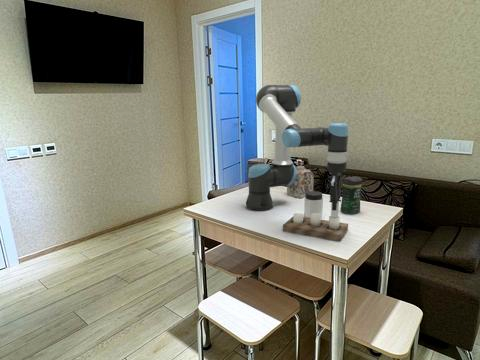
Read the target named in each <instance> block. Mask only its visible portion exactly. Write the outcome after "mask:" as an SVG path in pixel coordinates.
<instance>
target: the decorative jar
mask: <svg viewBox="0 0 480 360" xmlns="http://www.w3.org/2000/svg"><path fill="white" fill-rule="evenodd" d="M296 170H297V177H296V180H295V182H294V183H293V184H291V185H287V186H286V195H288V196H291V197H292V198H293V197H294V198H297V199H302V198H304V199H305V196H306V192H309V191H314V177H315V176H314V175H315V174H314V173H313V172H312V170H311V169H307V168H305V166H304V165H297V166H296Z"/></svg>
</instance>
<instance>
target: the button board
mask: <svg viewBox="0 0 480 360" xmlns="http://www.w3.org/2000/svg"><path fill="white" fill-rule="evenodd" d="M310 221H311V218H308V217H305V216H303V224H297V223H293V216H292V217H290V218H289V219H288V220H287V221H286V222H285V223H283V224H282V232H286V233H291V234H296V235H301V236H306V237H312V238H318V239H323V240H328V241H333V242H334V241H335V242H337V243H338V242H339V243H341V242H342V240H343V238H344V237H345V236H346V234H347V232H348V230H349V223H348V222H347V223H345V222H340V223H339V230H332V229H329V220H326V219H321V226H320V227H314V226H311V225H310Z"/></svg>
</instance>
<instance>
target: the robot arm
mask: <svg viewBox="0 0 480 360" xmlns="http://www.w3.org/2000/svg"><path fill="white" fill-rule="evenodd" d="M301 102H302V97H301V91H300V90H299V88H298V87H297V86H296V85H292V84H268V85H264V86H263V87H261V88H260V89H259V90H258V92H257V93H256V96H255V104H256V106H257V108H258V109H259V111H261V113H264V114H265V115H266V116H267V117H268V118H269V119H270V121H271V122H272V123H273V124H274V125H275V134H274V135H275V136H274V137H275V139H274V159H273V160H272V161H271V165H270V164H269V163H257V164H254V165H251V166H250V167H249V168H248V174H247V177H248V195H247V198H246V201H245V208H246V209H248V210H249V211H253V212H254V211H256V212H257V211H258V212H263V211H265V212H266V211H269V210H272V209H273V208H274V202H273V201H274V200H273V198H272V195H271V188H276V187H287V185H291V184H293V183H294V182H295V180H296V177H297V170H296V169H297V166H296V165H294V162H293V161H292V160H291V153H292V152H291V151H292V148H293V149H294V148H301V147H313V146H314V147H315V146H327V159H326V161H327V162H326V163H327V164H326V170H327V172H330V173H331V176H330V178H329V179H330V180H329V182H328V183H329V201H328V202H329V203H331V204H330V208H331V209H330V216H331V217H336V218H338V216H339V210H340V203H341V202H342V199H341V196H342V193H341V192H342V182H343V179H344V177H343V175H342V174H343V173H345V172H346V171H347V165H348V164H347V160H348V157H349V153H348V145H349V143H348V141H349V126H348V124H347V123H346V122H345V123H343V122H342V123H337V122H336V123H330V124H329V125H328V127H323V126H317V127H316V126H315V127H307V128H306V127H305V128H301V127H300V125H299V124H298V123H297V122H296V121H295V120H294V119H293V115H294V114H295V113H296V112H297V111H296V110H297V108H299V107H300V106H301V105H300V104H301Z"/></svg>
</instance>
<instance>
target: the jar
mask: <svg viewBox="0 0 480 360" xmlns="http://www.w3.org/2000/svg"><path fill="white" fill-rule="evenodd" d="M323 205H324V198H323V193H322V192H321V191H318V190H317V191H316V190H313V191H309V192H306V196H305V197H304V205H303V206H304V211H303V212H304V214H303V217H308V218H311V213H320V214H321V218H322V217H323V212H324V211H323V210H324V209H323V207H324V206H323Z"/></svg>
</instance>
